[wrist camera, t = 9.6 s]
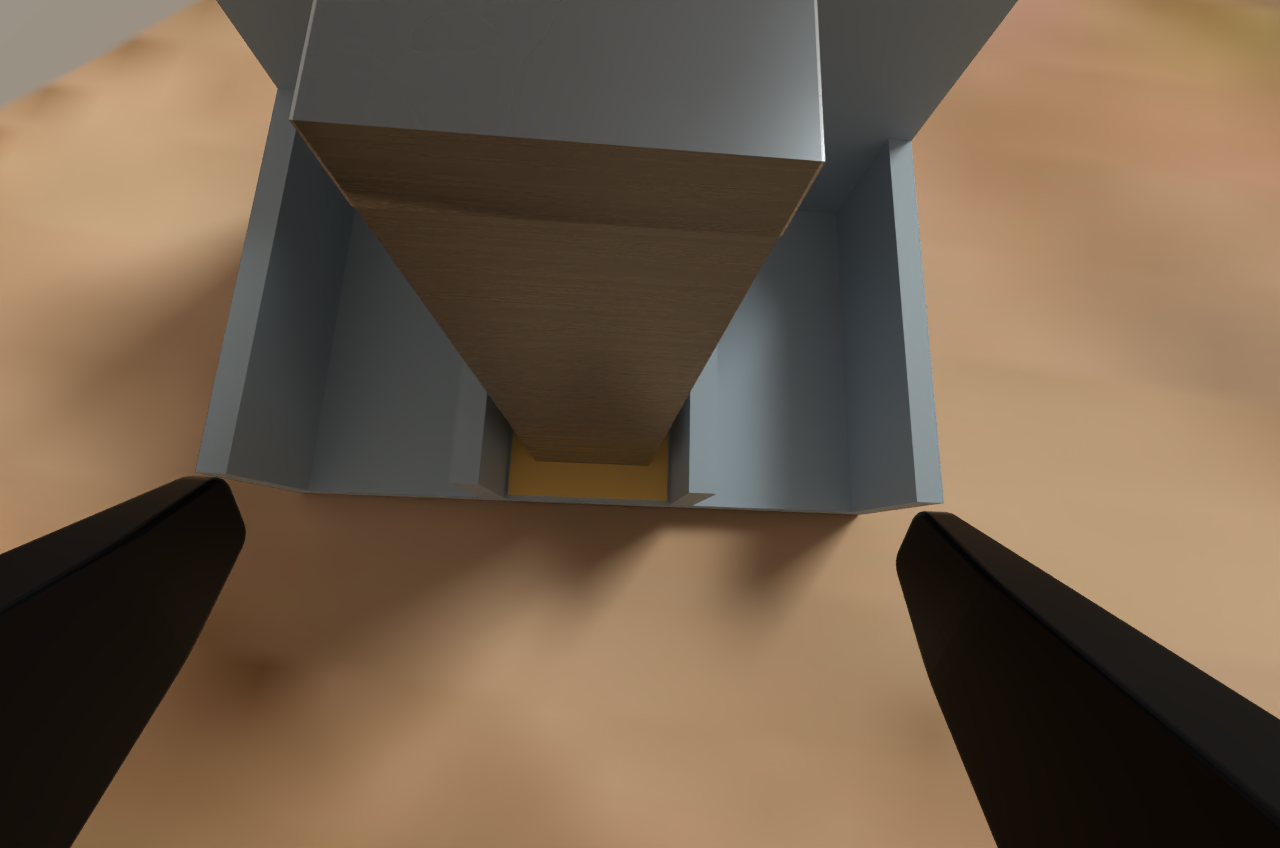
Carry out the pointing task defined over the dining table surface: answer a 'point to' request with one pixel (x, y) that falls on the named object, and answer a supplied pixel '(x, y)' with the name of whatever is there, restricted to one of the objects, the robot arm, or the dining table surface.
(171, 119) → the dining table surface
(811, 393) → the rack
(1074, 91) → the dining table surface
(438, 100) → the grey rectangular block
